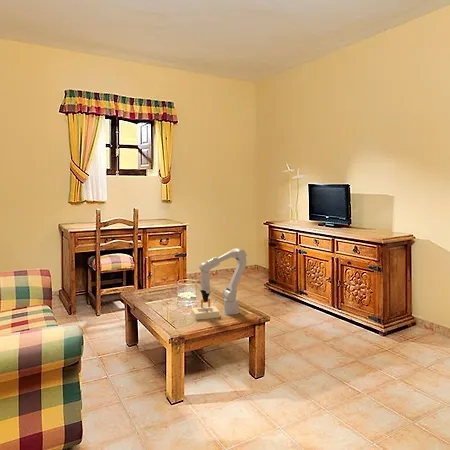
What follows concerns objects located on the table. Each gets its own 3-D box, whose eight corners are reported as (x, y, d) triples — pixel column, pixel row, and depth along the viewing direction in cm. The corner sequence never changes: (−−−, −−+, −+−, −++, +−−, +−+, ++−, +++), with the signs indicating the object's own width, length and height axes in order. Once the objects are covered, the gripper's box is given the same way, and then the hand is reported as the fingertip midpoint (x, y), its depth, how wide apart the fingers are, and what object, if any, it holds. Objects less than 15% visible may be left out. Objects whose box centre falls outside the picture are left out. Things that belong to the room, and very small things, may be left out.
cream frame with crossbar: (214, 311, 270) (214, 303, 269) (219, 317, 258) (219, 308, 258) (191, 313, 265) (191, 305, 265) (195, 319, 254) (195, 311, 253)
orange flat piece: (209, 306, 262) (209, 298, 261) (210, 307, 261) (210, 299, 260) (200, 307, 260) (200, 299, 260) (201, 308, 259) (201, 299, 258)
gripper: (196, 278, 264) (196, 298, 266) (201, 284, 251) (202, 305, 252) (206, 278, 266) (207, 297, 268) (212, 283, 253) (212, 304, 254)
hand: (205, 301), depth 260 cm, fingers closed on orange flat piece, 1 cm apart
